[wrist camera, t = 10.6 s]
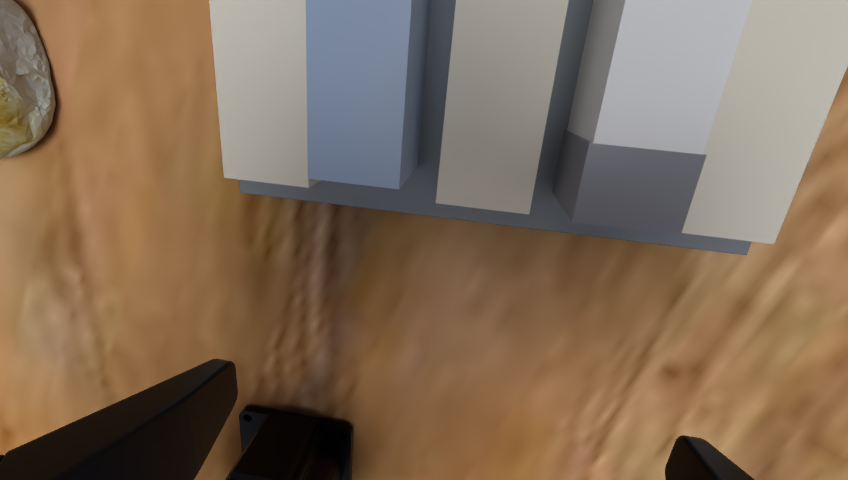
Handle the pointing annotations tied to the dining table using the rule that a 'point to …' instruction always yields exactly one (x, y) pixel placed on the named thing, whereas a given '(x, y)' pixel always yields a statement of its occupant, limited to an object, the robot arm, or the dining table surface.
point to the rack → (533, 115)
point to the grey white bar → (645, 110)
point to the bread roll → (22, 82)
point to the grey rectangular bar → (365, 89)
